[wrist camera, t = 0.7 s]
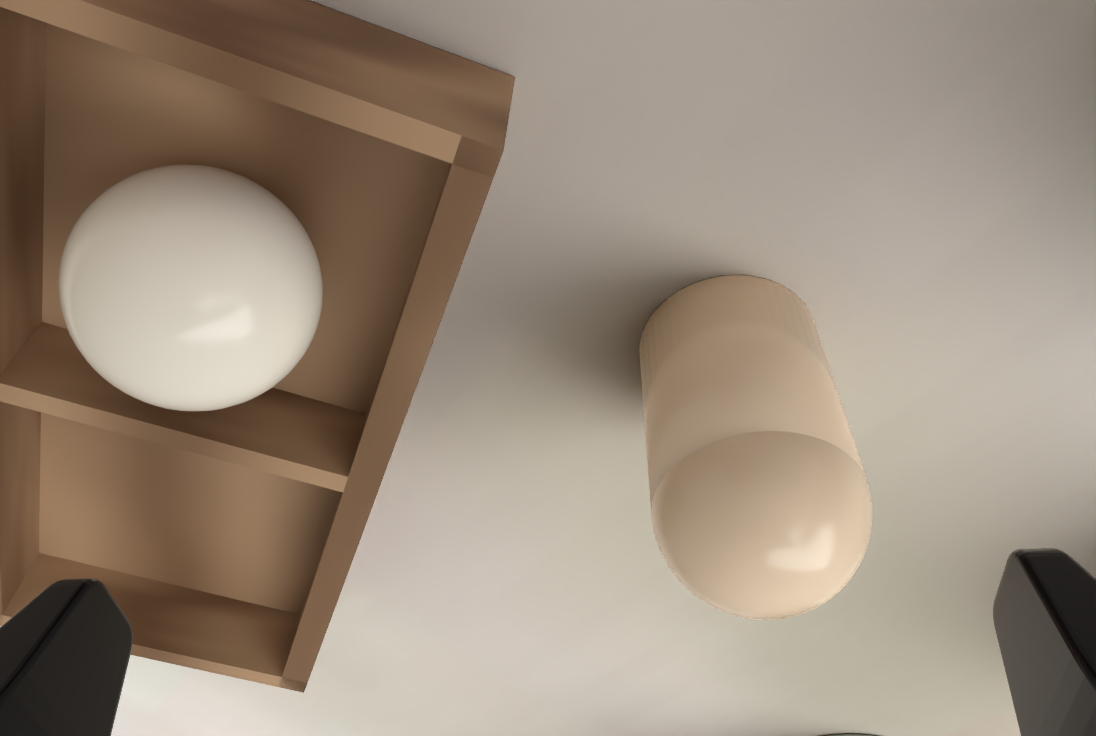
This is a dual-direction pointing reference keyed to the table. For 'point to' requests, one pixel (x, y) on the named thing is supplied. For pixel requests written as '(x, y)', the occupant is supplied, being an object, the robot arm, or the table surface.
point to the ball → (190, 287)
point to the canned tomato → (850, 735)
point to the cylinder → (750, 450)
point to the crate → (317, 379)
